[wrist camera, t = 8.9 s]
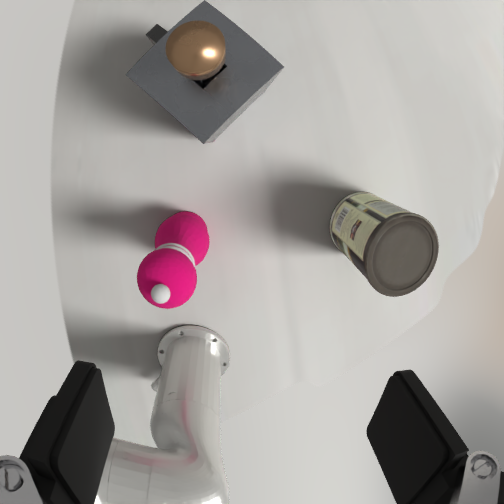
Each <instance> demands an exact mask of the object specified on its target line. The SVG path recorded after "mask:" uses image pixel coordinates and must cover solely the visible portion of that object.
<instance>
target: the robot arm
mask: <svg viewBox="0 0 504 504" xmlns="http://www.w3.org/2000/svg"><path fill="white" fill-rule="evenodd" d="M157 355H158V360H159V363H160V365H161V366H162V372H161V374H160V378H158V379H157V380H156V381H154V382H153V383H152V385H151V386H152V389H153V390H154V391H156V392H157V393H156V398H155V402H154V407H153V411H152V416H151V422H150V427H151V433H152V437H153V439H154V441H155V444H156V445H157V447H158V448H153V447H149V446H144V445H140V444H136V443H132V442H128V441H124V440H120V439H117V438H113V436H114V431H115V425H114V421H113V418H112V414H111V410H110V406H109V403H108V399H107V395H106V391H105V386H104V382H103V378H102V373H101V370H100V369H98V368H96V365H95V364H94V363H89V362H83V361H76V362H75V364H74V365H73V367H72V369H71V371H70V372H69V374H68V376H67V378H66V380H65V381H64V383H63V385H62V386H61V388H60V390H59V392H58V394H57V395H56V396H52V397H51V398H50V400H49V401H48V403H47V405H46V407H45V409H44V410H43V412H42V414H41V416H40V418H39V420H38V422H37V424H36V426H35V427H34V429H33V431H32V433H31V435H30V437H29V439H28V441H27V443H26V445H25V447H24V449H23V451H22V453H21V455H20V458H17V457H15V456H9V455H6V456H0V504H229V487H228V482H227V478H226V473H225V470H224V465H223V460H222V453H221V437H220V407H221V376H222V375H223V374H224V373H225V372H226V370H227V369H228V366H229V364H230V352H229V348H228V346H227V344H226V342H225V341H224V340H223V339H222V337H220V336H219V335H218V334H217V333H215V332H213V331H212V330H210V329H207V328H204V327H200V326H191V325H188V326H181V327H177V328H175V329H172V330H170V331H169V332H168V333H166V334H165V335H164V336H163V338H162V339H161V341H160V343H159V346H158V352H157ZM367 437H368V439H369V441H370V444H371V446H372V448H373V450H374V452H375V455H376V457H377V459H378V462H379V464H380V466H381V468H382V471H383V473H384V475H385V478H386V480H387V482H388V485H389V487H390V489H391V491H392V494H393V496H394V498H395V501H396V503H397V504H504V472H501V468H500V464H499V461H498V460H497V459H496V457H495V456H494V455H492V454H491V453H489V452H486V451H475V452H474V453H472V454H470V456H468V455H467V451H469V449H468V448H467V446H466V445H465V443H464V442H463V440H462V439H461V437H460V436H459V435H458V433H457V432H456V430H455V429H454V427H453V426H452V424H451V423H450V422H449V420H448V419H447V417H446V416H445V414H444V413H443V412H442V410H441V409H440V407H439V406H438V405H437V403H436V402H435V400H434V399H433V398H432V396H431V395H430V393H429V392H428V391H427V389H426V388H425V387H424V385H423V384H422V382H421V381H420V380H419V378H418V377H417V376H416V374H415V373H414V372H413V371H412V370H404V371H396V372H395V373H394V374H393V376H391V377H390V378H389V380H388V383H387V385H386V387H385V390H384V392H383V394H382V397H381V399H380V401H379V404H378V406H377V408H376V410H375V412H374V415H373V417H372V419H371V421H370V423H369V425H368V427H367Z"/></svg>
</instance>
